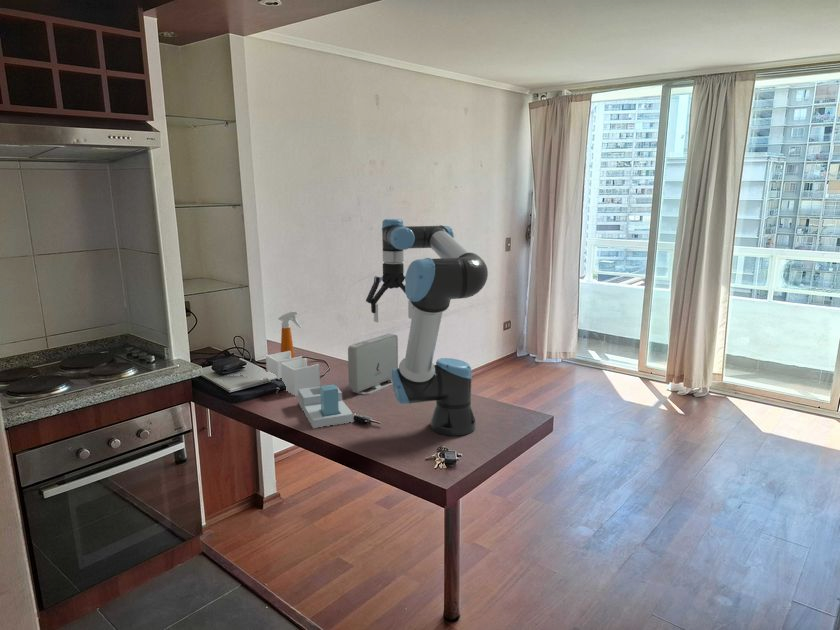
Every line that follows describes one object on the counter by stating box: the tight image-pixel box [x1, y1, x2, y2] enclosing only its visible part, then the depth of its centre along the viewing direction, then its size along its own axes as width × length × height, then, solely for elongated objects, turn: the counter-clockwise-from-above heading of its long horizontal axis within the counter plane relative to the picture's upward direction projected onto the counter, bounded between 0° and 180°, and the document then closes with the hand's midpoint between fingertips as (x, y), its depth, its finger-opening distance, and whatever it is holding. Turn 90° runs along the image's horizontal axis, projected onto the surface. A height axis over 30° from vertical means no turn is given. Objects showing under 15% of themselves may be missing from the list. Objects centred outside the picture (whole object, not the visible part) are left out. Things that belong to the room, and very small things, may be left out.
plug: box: [320, 384, 339, 417], centre depth 196 cm, size 6×5×12 cm
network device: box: [347, 333, 399, 396], centre depth 227 cm, size 26×9×20 cm, turn 143°
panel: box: [298, 383, 354, 429], centre depth 202 cm, size 24×14×6 cm, turn 23°
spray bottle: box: [278, 310, 303, 358], centre depth 251 cm, size 7×11×26 cm, turn 86°
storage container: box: [265, 351, 321, 397], centre depth 231 cm, size 25×11×11 cm, turn 40°
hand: (393, 320), depth 207 cm, fingers open, 13 cm apart
